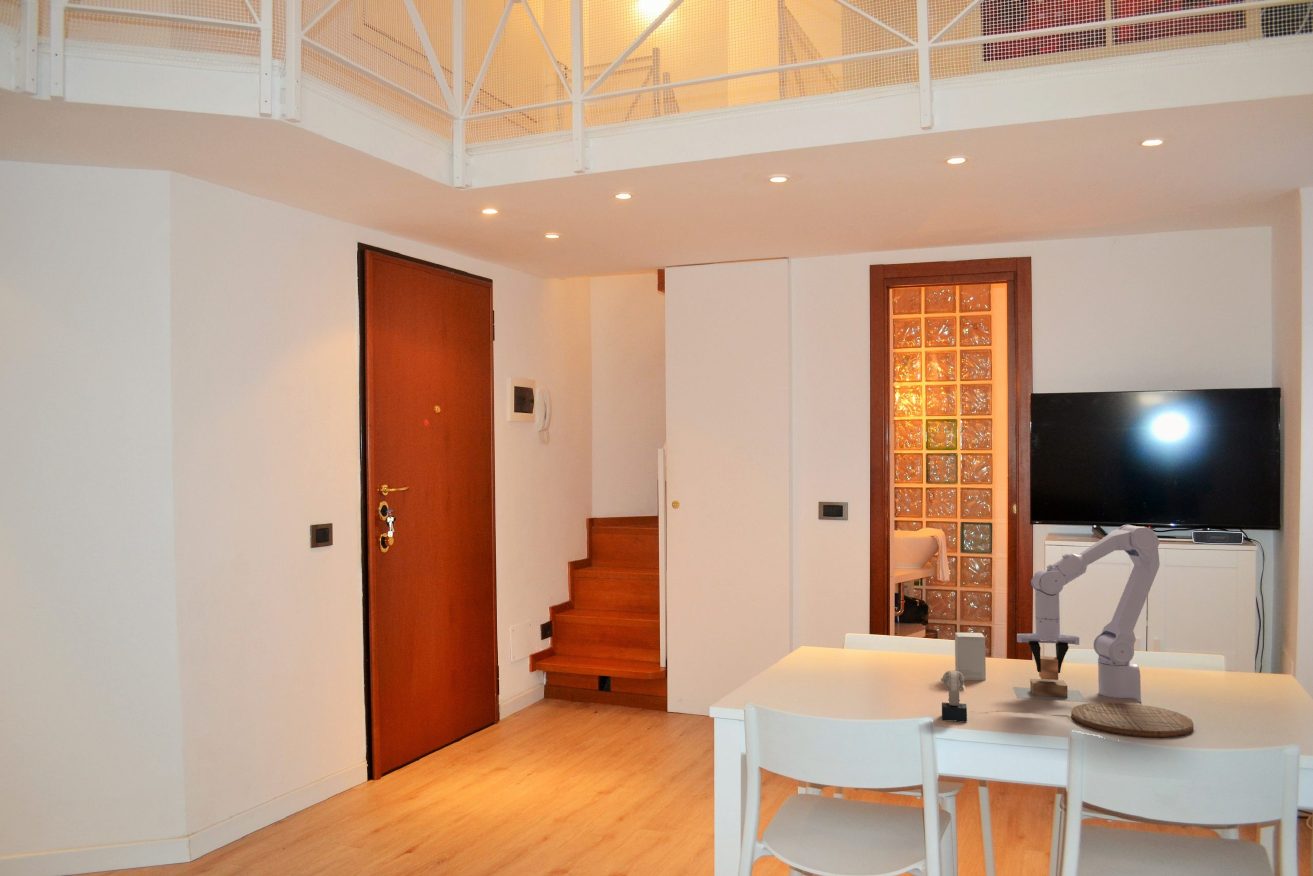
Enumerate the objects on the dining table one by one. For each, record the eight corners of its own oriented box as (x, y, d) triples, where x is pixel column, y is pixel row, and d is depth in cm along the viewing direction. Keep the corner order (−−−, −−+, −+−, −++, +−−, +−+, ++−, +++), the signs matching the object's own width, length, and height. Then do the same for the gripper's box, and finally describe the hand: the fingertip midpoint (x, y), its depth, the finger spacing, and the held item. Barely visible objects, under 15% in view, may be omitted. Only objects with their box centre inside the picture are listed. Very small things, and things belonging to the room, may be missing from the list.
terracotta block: (1056, 676, 244) (1055, 656, 244) (1058, 680, 240) (1058, 660, 240) (1039, 675, 245) (1038, 656, 245) (1041, 679, 241) (1040, 659, 241)
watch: (966, 715, 227) (965, 668, 227) (967, 724, 219) (966, 675, 219) (941, 713, 228) (940, 667, 229) (941, 722, 221) (940, 674, 221)
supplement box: (986, 684, 258) (985, 637, 259) (957, 683, 260) (957, 636, 260) (982, 678, 266) (982, 632, 266) (954, 677, 267) (954, 631, 267)
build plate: (1078, 694, 246) (1078, 690, 246) (1087, 705, 235) (1087, 701, 235) (1012, 691, 250) (1012, 687, 251) (1017, 702, 239) (1017, 698, 239)
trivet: (1207, 743, 204) (1207, 734, 204) (1080, 735, 211) (1080, 726, 211) (1177, 714, 228) (1177, 706, 228) (1064, 707, 235) (1064, 699, 235)
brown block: (1063, 692, 245) (1063, 680, 245) (1067, 697, 239) (1067, 685, 239) (1030, 690, 247) (1030, 678, 247) (1033, 696, 241) (1033, 684, 241)
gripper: (1018, 619, 241) (1019, 673, 241) (1081, 621, 237) (1082, 676, 237) (1015, 615, 248) (1016, 668, 248) (1076, 617, 244) (1077, 670, 244)
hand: (1048, 672), depth 243 cm, fingers closed on terracotta block, 4 cm apart
